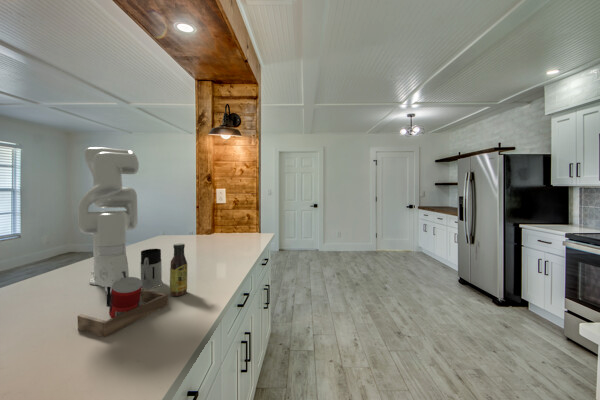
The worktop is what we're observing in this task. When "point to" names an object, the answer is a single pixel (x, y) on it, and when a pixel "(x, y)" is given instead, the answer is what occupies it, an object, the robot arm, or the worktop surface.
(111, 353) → the worktop surface
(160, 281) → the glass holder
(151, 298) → the wooden corner frame
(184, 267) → the sauce bottle
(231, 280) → the worktop surface
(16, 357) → the worktop surface
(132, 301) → the canned food
